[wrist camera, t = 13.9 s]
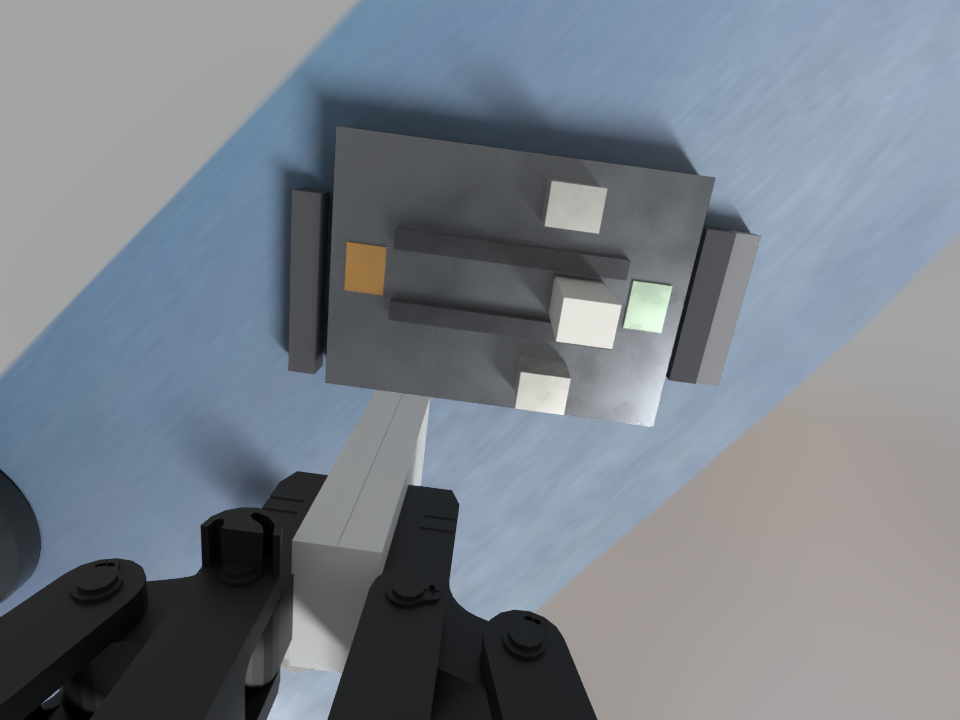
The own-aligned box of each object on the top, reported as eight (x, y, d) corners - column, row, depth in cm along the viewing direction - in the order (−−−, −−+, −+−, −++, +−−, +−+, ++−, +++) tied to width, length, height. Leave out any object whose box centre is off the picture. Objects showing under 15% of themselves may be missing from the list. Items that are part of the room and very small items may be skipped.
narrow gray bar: (662, 370, 41) (669, 380, 39) (698, 225, 38) (707, 229, 36) (710, 377, 41) (719, 386, 39) (750, 233, 38) (762, 236, 36)
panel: (337, 367, 42) (311, 400, 36) (349, 128, 36) (320, 123, 31) (642, 408, 42) (664, 448, 36) (699, 175, 37) (734, 179, 31)
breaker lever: (548, 312, 37) (556, 341, 31) (554, 274, 36) (564, 297, 30) (595, 319, 37) (612, 349, 31) (603, 281, 36) (621, 305, 30)
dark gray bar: (297, 361, 42) (288, 370, 40) (301, 188, 38) (291, 189, 36) (322, 365, 42) (314, 374, 40) (329, 191, 38) (321, 193, 36)
